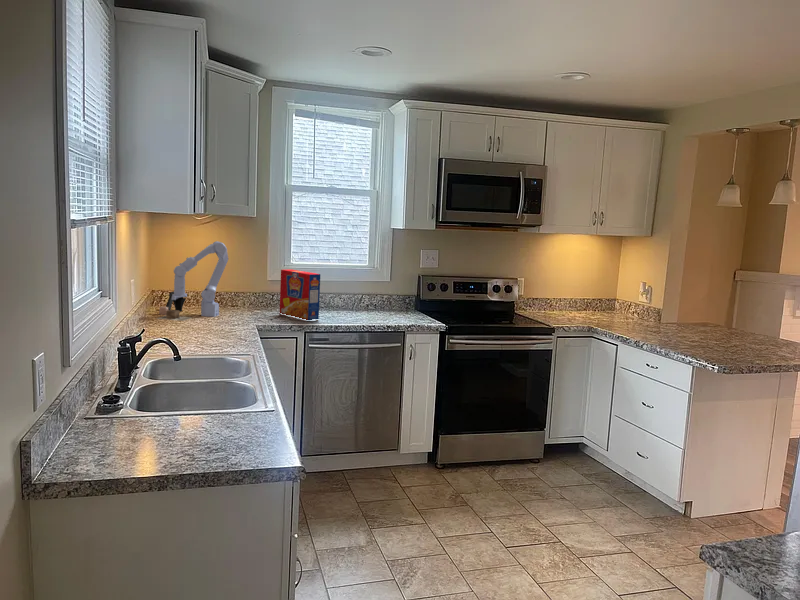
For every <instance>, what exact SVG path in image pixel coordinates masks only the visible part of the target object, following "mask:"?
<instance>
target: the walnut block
mask: <svg viewBox="0 0 800 600" xmlns="http://www.w3.org/2000/svg"><path fill="white" fill-rule="evenodd" d="M165 316H166V318H171V319H176V318H179V316H180V312H179V310H175V309H171V310H168V311H166V315H165Z"/></svg>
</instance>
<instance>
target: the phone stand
mask: <svg viewBox="0 0 800 600" xmlns="http://www.w3.org/2000/svg"><path fill="white" fill-rule="evenodd" d="M172 294H174V291H171V292H169V293H168V299H167V302H166V305H165V307H168V310H172V306H174V310H177V309H176V305H175V303H174V301H173V300H172ZM179 313H182V312H181V311H179Z"/></svg>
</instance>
